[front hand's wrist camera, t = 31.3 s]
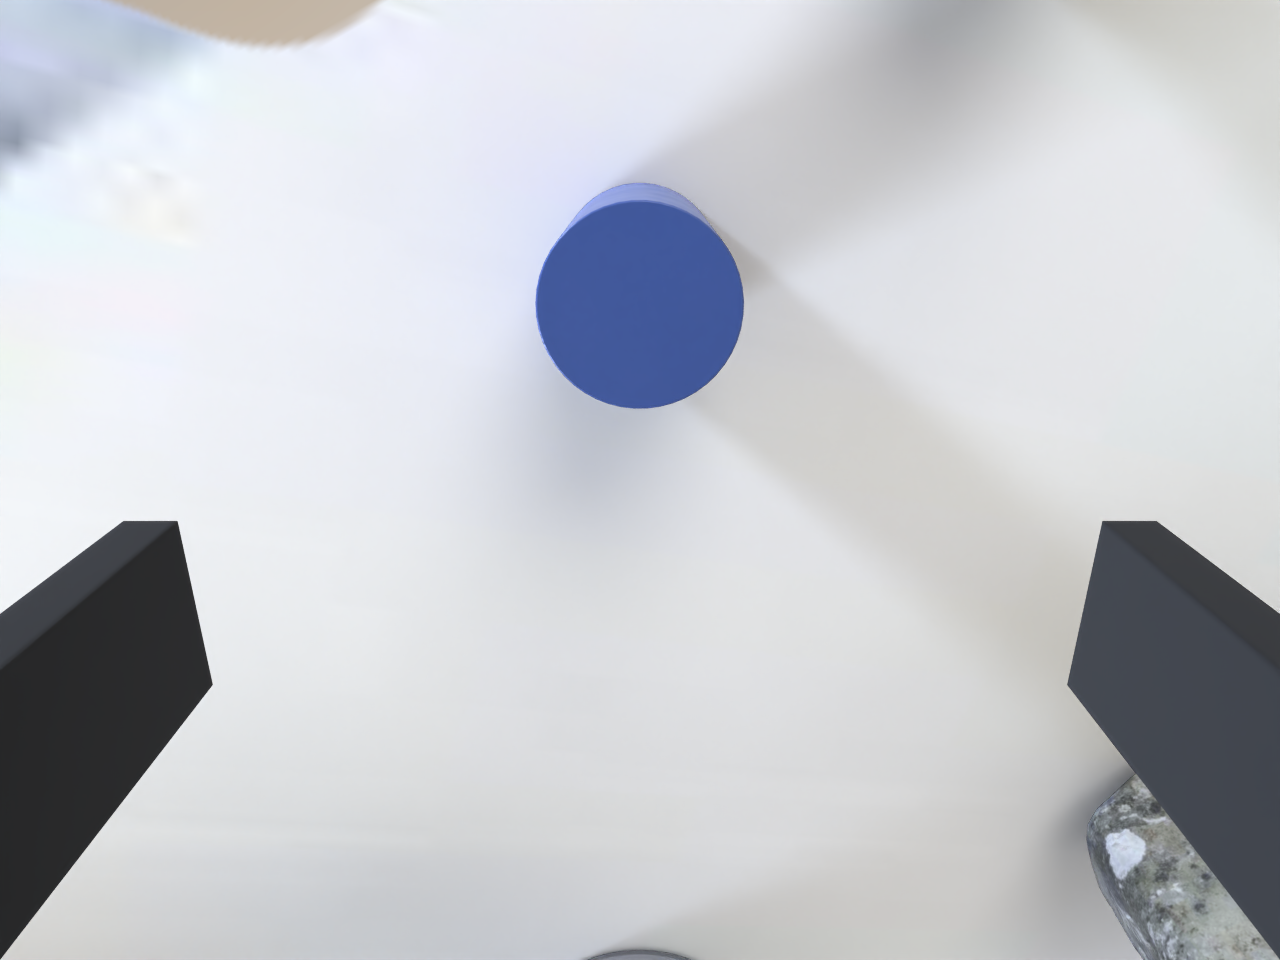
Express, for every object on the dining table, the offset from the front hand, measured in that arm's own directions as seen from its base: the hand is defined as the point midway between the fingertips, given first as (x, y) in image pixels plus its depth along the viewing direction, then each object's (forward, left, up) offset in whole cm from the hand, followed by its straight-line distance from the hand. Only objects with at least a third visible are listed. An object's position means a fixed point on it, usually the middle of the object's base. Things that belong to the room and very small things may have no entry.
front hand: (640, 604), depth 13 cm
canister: (0, 0, -34) cm, 34 cm away
